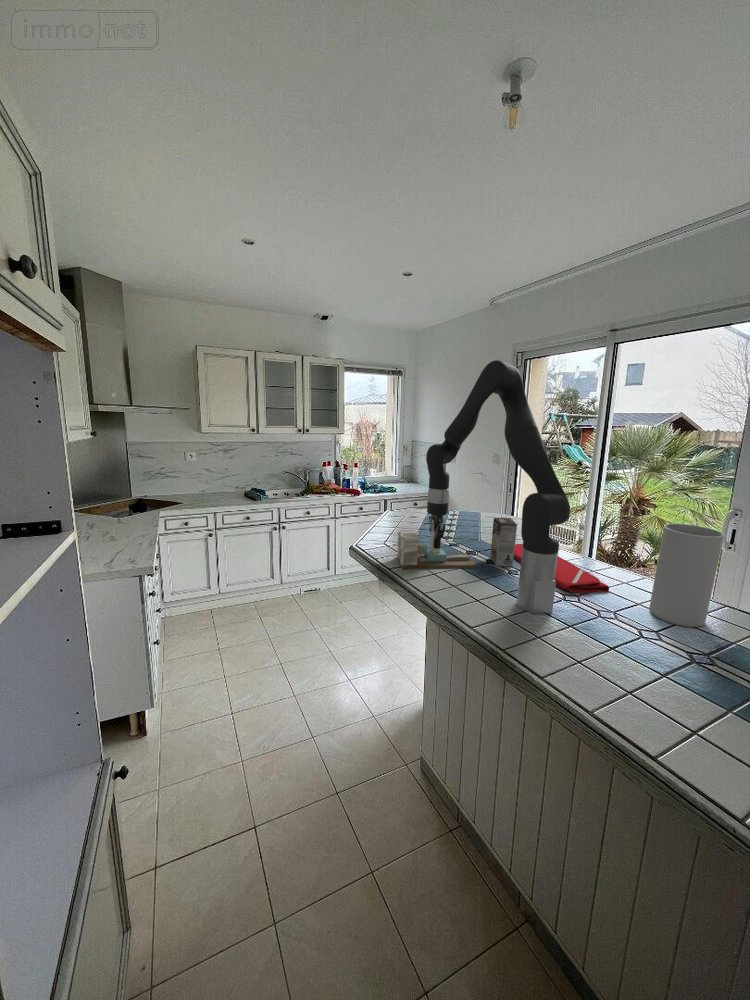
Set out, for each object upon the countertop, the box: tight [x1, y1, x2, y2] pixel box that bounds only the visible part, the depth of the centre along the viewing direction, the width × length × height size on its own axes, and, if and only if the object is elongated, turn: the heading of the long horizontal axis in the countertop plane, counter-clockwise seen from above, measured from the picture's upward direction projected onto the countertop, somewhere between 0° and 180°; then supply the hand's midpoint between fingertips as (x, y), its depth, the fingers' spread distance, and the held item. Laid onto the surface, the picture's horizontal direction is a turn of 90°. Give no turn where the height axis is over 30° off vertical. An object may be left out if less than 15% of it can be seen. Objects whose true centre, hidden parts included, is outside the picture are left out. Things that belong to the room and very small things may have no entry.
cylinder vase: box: [649, 523, 725, 628], centre depth 108 cm, size 12×12×25 cm
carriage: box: [420, 530, 448, 562], centre depth 146 cm, size 6×9×11 cm, turn 97°
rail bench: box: [396, 530, 478, 570], centre depth 146 cm, size 12×27×11 cm, turn 97°
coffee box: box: [490, 517, 518, 567], centre depth 148 cm, size 9×6×16 cm
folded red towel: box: [513, 543, 610, 594], centre depth 144 cm, size 16×41×4 cm, turn 10°
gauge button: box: [418, 543, 422, 555], centre depth 145 cm, size 3×6×3 cm, turn 97°
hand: (435, 546), depth 146 cm, fingers closed on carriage, 3 cm apart
